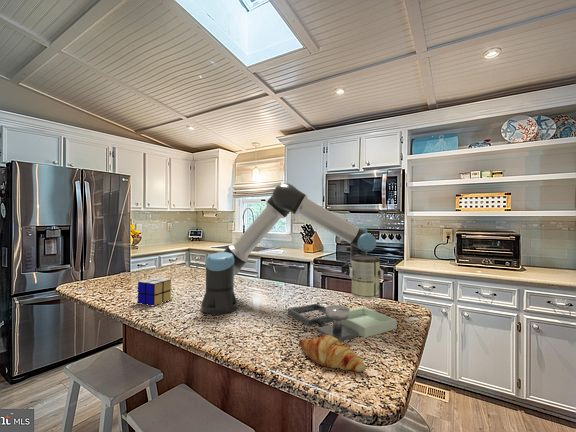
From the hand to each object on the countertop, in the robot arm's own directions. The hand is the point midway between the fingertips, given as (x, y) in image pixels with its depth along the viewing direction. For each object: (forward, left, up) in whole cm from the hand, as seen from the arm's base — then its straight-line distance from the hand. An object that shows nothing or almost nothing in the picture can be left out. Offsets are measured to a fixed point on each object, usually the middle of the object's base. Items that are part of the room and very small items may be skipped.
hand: (366, 274), depth 102 cm
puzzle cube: (-61, +70, -20) cm, 96 cm away
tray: (+3, +3, -20) cm, 20 cm away
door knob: (-11, +5, -20) cm, 23 cm away
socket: (-8, +20, -20) cm, 30 cm away
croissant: (-25, -11, -20) cm, 34 cm away
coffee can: (+3, +3, -9) cm, 10 cm away
